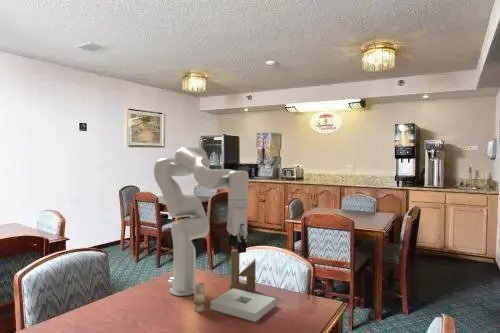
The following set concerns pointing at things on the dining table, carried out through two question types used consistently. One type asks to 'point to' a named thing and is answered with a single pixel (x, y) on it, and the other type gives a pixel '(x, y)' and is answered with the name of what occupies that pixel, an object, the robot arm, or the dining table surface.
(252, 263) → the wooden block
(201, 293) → the peg
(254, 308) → the board
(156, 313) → the dining table surface
